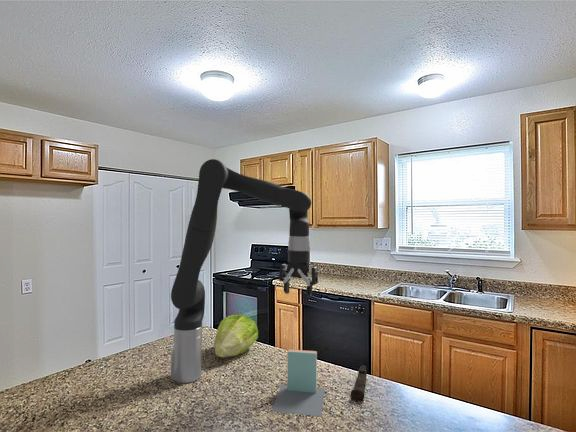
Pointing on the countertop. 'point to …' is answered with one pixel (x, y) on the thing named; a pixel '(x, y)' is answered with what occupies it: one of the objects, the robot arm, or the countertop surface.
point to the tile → (302, 371)
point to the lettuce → (235, 335)
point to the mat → (299, 402)
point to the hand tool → (359, 385)
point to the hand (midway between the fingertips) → (297, 294)
